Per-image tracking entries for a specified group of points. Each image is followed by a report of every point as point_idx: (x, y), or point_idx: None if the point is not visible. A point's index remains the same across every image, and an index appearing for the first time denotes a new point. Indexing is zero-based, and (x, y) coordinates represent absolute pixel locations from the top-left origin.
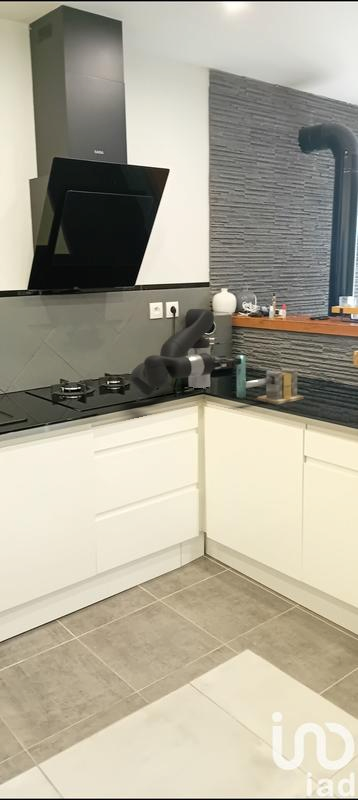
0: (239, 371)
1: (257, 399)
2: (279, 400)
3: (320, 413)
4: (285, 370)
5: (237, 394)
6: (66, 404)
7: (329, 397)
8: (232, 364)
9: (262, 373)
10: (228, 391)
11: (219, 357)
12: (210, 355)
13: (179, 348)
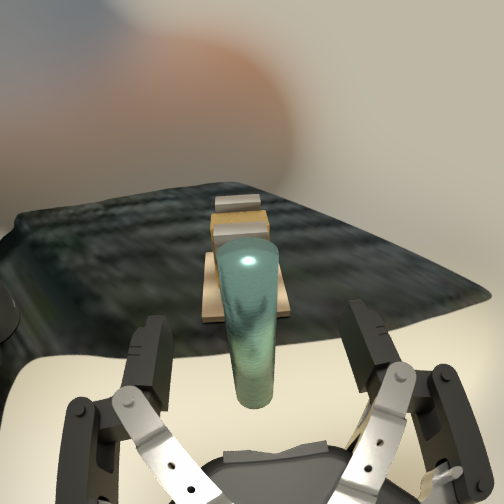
0: (265, 340)
1: (204, 321)
2: (279, 299)
3: (410, 289)
4: (231, 205)
5: (253, 404)
6: None
7: (287, 222)
8: (433, 407)
9: (64, 210)
10: (74, 313)
11: (157, 374)
12: (76, 406)
13: None
